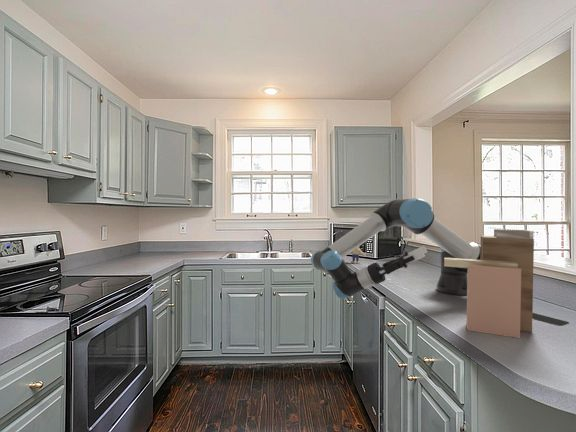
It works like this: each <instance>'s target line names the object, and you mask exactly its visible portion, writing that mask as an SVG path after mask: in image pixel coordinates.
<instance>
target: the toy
mask: <svg viewBox="0 0 576 432" xmlns="http://www.w3.org/2000/svg"><path fill="white" fill-rule="evenodd" d="M349 254H351V255H352V257H351V258H352V261H351V263H352V264H355V263H356V264H360V263H361V262H360V261H359V259H360V257H359V256H360V254H362V256H364V257H366V254H365V253H364V252H363V251H362V250H361V249H360V246H359V247H357V248H356V249H354V250H353V251H352V252H350V253H349Z"/></svg>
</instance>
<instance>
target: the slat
mask: <svg viewBox="0 0 576 432" xmlns="http://www.w3.org/2000/svg"><path fill="white" fill-rule="evenodd" d="M469 265H477V266H491V267H504V268H518V264H517V263H516V262H505V261H490V260H475V259H460V258H444V266H447V267H460V268H469Z"/></svg>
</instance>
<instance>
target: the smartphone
mask: <svg viewBox="0 0 576 432" xmlns="http://www.w3.org/2000/svg"><path fill="white" fill-rule="evenodd" d="M532 320H535V321H540V322H543V323H547V324H550V325H553V324H554V326H557V325H558V327H562V326H565V325H568V324H569V325H570V322H569V321H565V320H562V319H558V318H555V317H551V316H548V315H543V314H539V313H535V312H532Z"/></svg>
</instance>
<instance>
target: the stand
mask: <svg viewBox="0 0 576 432" xmlns="http://www.w3.org/2000/svg"><path fill="white" fill-rule="evenodd" d="M534 246H535V239H534V230H531V229H529V230H528V229H502V228H501V229H500V228H499V229H498V228H494V229H493V235H480V247H481V250H480V260H490V261H505V262H516V263H517V264H518V269H521V311H520V332H521V331H522V332H523V331H524V332H530V333H533V319H532V313H534V312H533V309H534V306H533V301H534V299H533V297H534V295H533V294H534V257H535V256H534V253H535V250H534V248H535V247H534Z"/></svg>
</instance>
